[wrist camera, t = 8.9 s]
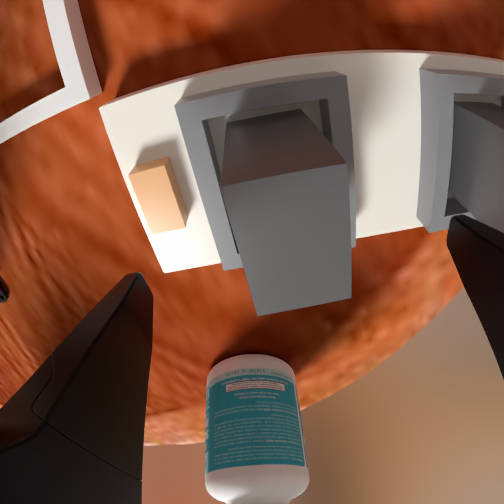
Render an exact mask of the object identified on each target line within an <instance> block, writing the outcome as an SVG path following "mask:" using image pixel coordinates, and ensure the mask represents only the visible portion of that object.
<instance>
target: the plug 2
mask: <svg viewBox="0 0 504 504" xmlns="http://www.w3.org/2000/svg"><path fill="white" fill-rule="evenodd" d="M448 192H449V193H450V194H451V195H452V196H454V197H455V198H456V199H457V200H458V201H459V202H460V203H461V204H462V205H463V206H464V207H465V208H466V209H467V210H468V211H469V212H470V213H471V214H472V215H473V217H474V218H475V219H476V220H477V221H480V222H482V223H484V224H486V225H488V226H490V227H492V228H494V229H497V230H499V231H501V232H503V233H504V108H502V107H500V106H498V105H496V104H494V103H487V102H456V101H454V109H453V139H452V155H451V167H450V177H449V186H448Z"/></svg>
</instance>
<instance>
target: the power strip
mask: <svg viewBox="0 0 504 504" xmlns="http://www.w3.org/2000/svg"><path fill="white" fill-rule="evenodd" d="M454 101H456V102H487V103H494V104H496V105H498V106H500V107H502V108H504V60H501V59H496V58H489V57H483V56H476V55H468V54H459V53H450V52H438V51H422V50H350V51H333V52H321V53H310V54H301V55H292V56H285V57H277V58H271V59H264V60H258V61H253V62H247V63H242V64H236V65H231V66H227V67H222V68H217V69H213V70H209V71H204V72H200V73H196V74H192V75H188V76H185V77H181V78H177V79H174V80H170V81H167V82H163V83H160V84H157V85H153V86H150V87H147V88H144V89H141V90H138V91H135V92H132V93H129V94H126V95H123V96H120V97H118V98H115V99H113V100H111V101H110V102H108V103H106V104H104V105H103V106H101V107H99V110H100V113H101V116H102V119H103V122H104V125H105V128H106V131H107V134H108V136H109V139H110V142H111V145H112V148H113V150H114V153H115V156H116V159H117V161H118V164H119V167H120V169H121V172H122V175H123V177H124V180H125V182H126V185H127V187H128V190H129V192H130V195H131V197H132V200H133V202H134V205H135V207H136V210H137V212H138V215H139V217H140V219H141V222H142V224H143V226H144V229H145V231H146V233H147V236H148V238H149V240H150V243H151V245H152V247H153V249H154V252H155V254H156V256H157V258H158V261H159V263H160V265H161V267H162V269H163V272H164V273H167V272H173V271H178V270H184V269H190V268H195V267H201V266H207V265H212V264H218V263H222V266H223V269H224V271H225V270H231V269H236V268H242V267H243V265H242V261H241V258H240V254H239V251H238V247H237V244H236V240H235V237H234V234H233V230H232V227H231V223H230V220H229V216H228V213H227V209H226V206H225V202H224V199H223V195H222V192H221V188H220V184H221V173H222V163H223V153H224V143H225V133H226V123H229V122H233V121H238V120H243V119H247V118H252V117H257V116H262V115H268V114H273V113H279V112H284V111H290V110H297V109H301V110H302V111H303V112H304V113H305V114H306V115H307V116H308V117H309V119H310V120H311V121H312V122H313V123H314V124H315V125H316V127H317V128H318V129H319V130H320V131H321V132H322V134H323V135H324V136H325V137H326V138H327V139H328V141H329V142H330V143H331V144H332V145H333V147H334V148H335V149H336V150H337V151H338V153H339V154H340V155H341V156H342V157H343V159H344V160H345V161H346V162H347V167H348V181H349V198H350V221H351V248H352V247H356V239H357V238H362V237H367V236H373V235H378V234H384V233H389V232H395V231H400V230H405V229H411V228H416V227H422V226H424V227H425V228H426V230H427V231H428V232H429V233H431V232H436V231H441V230H446V229H449V223H450V219H451V217H452V216H455V215H461V214H464V215H466V216H469V217H471V218H473V219H475V218H474V217H473V215H472V214H471V213H470V212H469V211H468V210H467V209H466V208H465V207H464V206H463V205H462V204H461V203H460V202H459V201H458V200H457V199H456V198H455V197H454V196H452V195H451V194H450V193H449V192H448V186H449V177H450V167H451V155H452V139H453V109H454ZM475 220H476V219H475Z"/></svg>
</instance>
